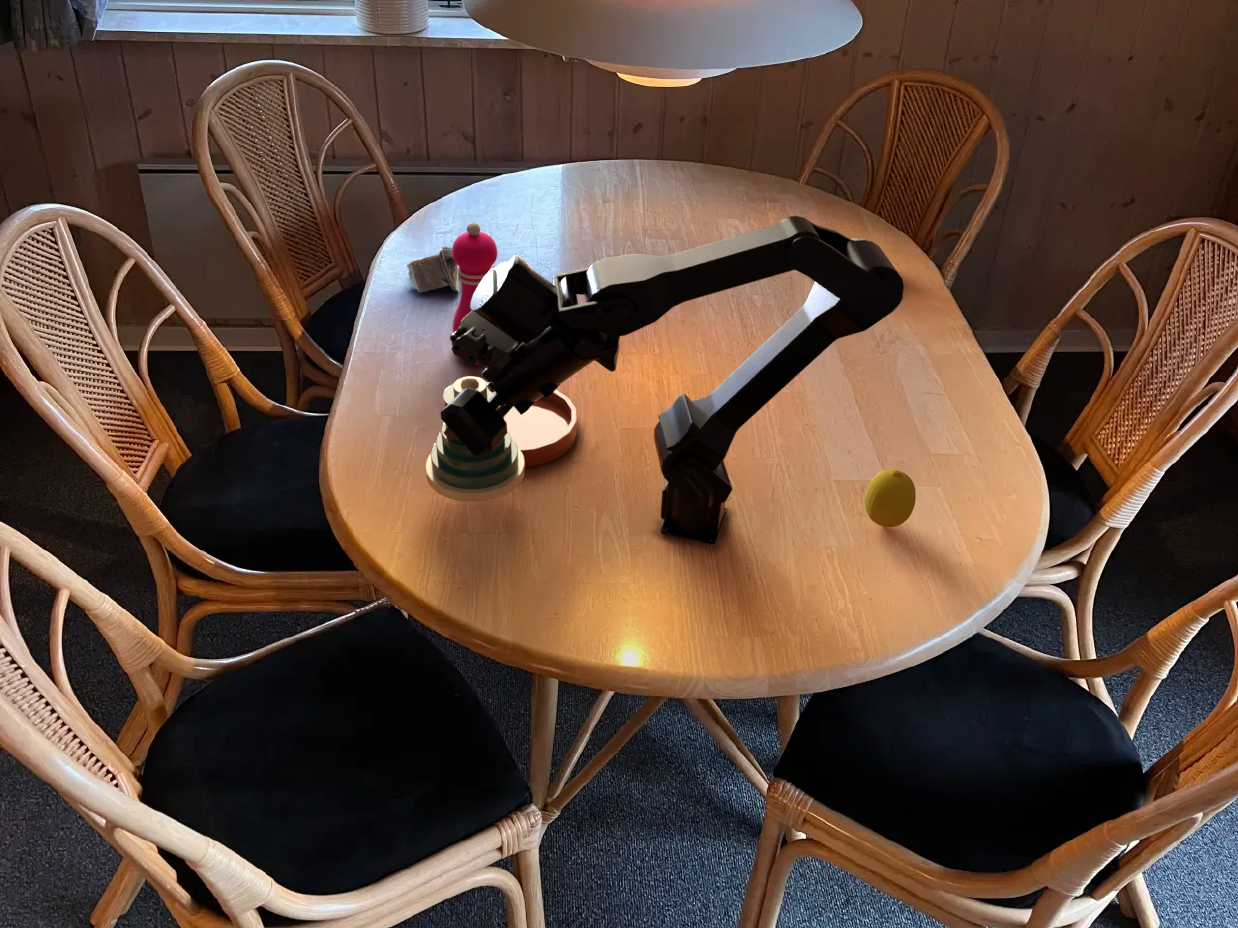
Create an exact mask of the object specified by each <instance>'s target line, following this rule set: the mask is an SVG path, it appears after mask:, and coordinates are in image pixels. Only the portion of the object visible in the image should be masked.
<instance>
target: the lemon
mask: <svg viewBox="0 0 1238 928" xmlns="http://www.w3.org/2000/svg"><path fill="white" fill-rule="evenodd" d="M916 497H917V495H916V486H915V483H914V481H913V479H912V478H911V477H910V476H909V475H908V474H907V473H905V472H904V471H902V470H899V469H894V468H893V469H892V468H891V469H885V470H881V471H880V472H878V473H877V474H875V475H874V477H873V478H872V479H871V481H870V482H869V484H868V486H867V488H866V492H865V496H864V506H865V507H864V508H865V511H866V513H867V516H868V517H869V519H870V520H872V522H873V523H875V524H876V525H878V526H880V527H882V528H896V527H898V526H901V525H903V524H904V523H905V522H906V521H908V520H909V519H910V517H911V516H912V513H913V511H914V509H915V506H916V500H917V499H916Z"/></svg>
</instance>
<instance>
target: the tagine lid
mask: <svg viewBox="0 0 1238 928" xmlns="http://www.w3.org/2000/svg"><path fill="white" fill-rule="evenodd" d="M488 384H489V382H488V381H486V379H484V378H482V377H479V376H474V375H473V376H472V375H468V376H463V377H460V378H458V379H456V380H455V381H454V382H453V383H452V384H450V385H448V386H447V387H446V388H445V389H444V390H443V393H442V403H443V405H442V406H443V409H444V408H445V407H446V406H447V405H448V404H449V403H450V402H451V401H452V400H453V399H454V398H455V397H456V396H457V395H458V394H459V393H460V392H461V391H462V390H465V389H466V388H470V389H474V390H478V391H479V392H480V393H481V394H482V395H483V396H484V397H485V399H486V400H487V401H488V400H489V399H490V398H491V397H492V396H493V395H494V394H495V393H496V392H493V393H492V392H491V391H490V390H489V389H488V388H487V385H488ZM498 408H499V407H498ZM498 408H497V409H498ZM497 409H496V411H497ZM447 427H448V426H447V425H446V424H445V423H444V422H443V423H442V426H441V429H440V431H439V433H438V435H437V436H436V440H435V443H434V444H433V446H432V447H431V450H430V453H429V455H428V456H427V459H426V461H425V475H426V476H425V477H426V480H427V483H428V485H429V486H430V487H431V489H433V490H434V491H435V492H436V493H437V494H439V495H441V496H442V497H444V498H447V499H450V500H454V501H458V502H466V503H467V502H468V503H478V502H487V501H490V500H494V499H497V498H501V497H503V496H506V495H507V494H509V493H512V491H514V490H515V489H516V488H518V486H519V485H520V484H521V482H522V481H523V479H524V477H525V473H526V467H525V461H524V456H523V454H522V452H521V451H520V450H519V448H518V447H517V444H516V443H515V441H514V440H513V439H512V438H511V435H510V433H509V431H508V430H507V434H506V435H505V436H504V438H503V439H502V440H501V441H500V442H499V443H498V444H497V446H496V447H495V448H494V449H493V450H492V451H491V452H489V453H488V454H486V455H485V456H483V457H482V458H479V457H475V456H474V455H473V454H472V453H471V452H470V451H469V449H468V448H467V447H466V446H465V445H464V444H463V443H462V442H461V441H460V440H449V439H448V438H447V437H446V435H445V434H444V431H445V430H446V429H447Z"/></svg>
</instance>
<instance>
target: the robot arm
mask: <svg viewBox="0 0 1238 928" xmlns="http://www.w3.org/2000/svg"><path fill="white" fill-rule="evenodd" d="M848 237H849V236H846V235H844V234H843V233H840V232H839V231H837V230H834V229H832V228H828V227H824V226H821V225H817V224H815V223H813V222H812V221H810V220H809V219H807V218H806V217H804V216H799V215H790V216H787V217H784V218H783V219H782V220H781V221H780V222H778V223H773V224H771V225H768V226H763V227H761V228H757V229H754V230H750V231H747V232H744V233H740V234H737V235H733V236H731V237H727V238H723V239H719V240H716V241H713V242H710V243H706V244H703V245H699V246H695V247H691V248H688V249H685V250H682V251H678V252H675V253H672V254H664V255H652V254H644V253H630V254H623V255H616V256H608V257H603V258H601V259H599V260H596V261H595V262H593V263H592V264H591V265H589V267H584V268H580V269H575V270H571V271H566V272H562V273H558V274H556V273H555V274H554V275H552V276H551V281H552V282H551V281H550V280H548V279H547V278H545V277H544V275H543V276H542V274H540V273H539V272H537V271H536V270H535V269H534V268H532V266H530V264H529V263H528V262H527V261H526V260H525V259H524V258H522V256H520V255H518V254H514V255H513V256H512V257H511V258H510V260H509V261H503V262H500V263H499V264H498V265H497V266H495V267H494V269H493V268H492V269H490V271H489V272H488V273H487V274H486V275H485V276H484V278H483V279H482V280H481V282H480V283H479V285H478V287H477V288H476V290H475V292H474V294H473V296H472V299H471V303H470V308H471V310H472V311H471V312H470V313H469V314H468V315H467V316H465V317H464V318H463V319H462V320H461V323H460V325H459V327H458V329H457V331H455V332H454V333H453V332H452V334H451V335H450V336H449V340H450V342H451V351H452V353H453V355H455V357H457V358H459V360H461V359H462V360H463V361H465V362H466V363H465V362H464V363H465V364H467V365H468V366H476V365H475V364H476V363H479V364H480V365H479V366H482V367H486V368H485V369H484V370H483V371H482V372H481V373H480V374H481V376H482V377H483V379H484V380H485V381H486V382H488V383H489V384H488V385H487V388H488V389H489V390H490V391H491V392H492V393H493V392H496V393H495V394H494V395H493V396H492V397H491V398H490V399H489V400H488V401H487V400H486V399H485V397H484V396H483V395H482V394H481V393H480V392H479V391H478V390H474V389H470V388H466V389H465V390H462V391H461V392H460V393H459V394H458V395H457V396H456V397H455V398H454V399H453V400H452V401H451V402H450V403H449V404H448V405H447V406H446V407H445V408H444V407H443V409H442V410H441V411H440V412H439V413H440V419H441V420H442V422H443V424H444V423H445V424H446V425H447V426H448V427H447V429H446V430H445V431H444V434H445V435H446V437H447V438H448V439H449V440H460V441H461V442H462V443H463V444H464V445H465V446H466V447H467V448H468V449H469V451H470V452H471V453H472V454H473V455H474V456H475V457H479V458H482V457H483V456H485V455H486V454H488V453H489V452H491V451H492V450H493V449H494V448H495V447H496V446H497V444H498V443H499V442H500V441H501V440H502V439H503V438H504V436H505V435H506V434H507V423H506V421H505V420H504V416H505V415H506V414H507V413H508V412H509V411H510V410H511V408H512V407H513V406H514V407H515V409H516V410H517V411H518V412H519V413H520V414H521V415H522V414H523V413H525V412H526V411H528V409H529V408H530V407H531V406H532V405H533V404H534V403H535V401H536V400H538V399H539V398H541V397H542V396H544V397H545V398H547V397H548V396H550V395H551V394H552V393H553V392H554V391H555V390H557V389H558V388H559V387H560V385H561V384H562V383H564V382H565V381H567V380H568V379H570V378H571V377H573V376H574V375H575V374H577V373H578V372H581V370H582V369H585V368H586V367H587V366H589V365H590V364H591V363H593V362H596V363H598V364H599V365H600V366H602V367H603V368H605V369H606V370H607V371H609V372H611V373H612V372H615V371H616V370H617V363H618V359H619V358H618V357H619V353H620V348H621V347H620V339H621V337H625V336H628V335H631V334H633V333H635V332H637V331H639V330H641V329H644V328H646V327H648V326H649V325H652V324H654V323H656V322H657V321H659V320H660V319H661V318H663V316H665V315H666V314H667V313H668V312H670V311H671V310H672V309H673V308H675V307H677V306H679V305H681V304H683V303H686V302H690V301H692V300H697V299H700V298H704V297H706V296H710V295H713V294H716V293H720V292H723V291H727V290H731V289H735V288H738V287H741V286H745V285H748V284H751V283H754V282H758V281H762V280H765V279H769V278H772V277H775V276H779V275H783V274H785V273H790V272H793V271H796V272H799V273H800V274H802V275H803V276H806V277H808V278H809V279H811V280H812V281H813V285H812V288H811V290H810V292H809V294H808V296H807V298H806V301H805V302H804V303H803V305H802V306H801V307H800V308H799V309H798V310H797V311H796V312H795V313H794V314H793V315H792V316H790V318H788V320H786V321H785V322H784V323H783V324H782V325H781V326H780V327H779V328H778V329H777V330H776V331H775V332H774V333H773V334H771V335H770V336H769V338H767V340H765V341H764V342H763V343H762V344H760V346H759V347H758V348H757V349H756V350H755V351H754V352H752V354H751V355H750V356H749V357H747V358H746V359H745V360H744V361H743V362H742V363H740V365H739V366H738V367H737V368H736V369H735V370H734V371H733V372H732V373H731V374H729V375H728V377H726V378H725V379H724V380H723V381H722V382H721V383H720V384H719V385H718V386H717V387H716V388H715V389H714V390H713V391H711V393H709V394H708V395H706V396H703V397H700V398H696V399H693V400H691V398H689V397H688V395H687V394H685V393H682V394H680V395H679V396H678V397H677V398H676V399H675V401H674V402H673V403H672V405H671V406H670V407H669V408H667V409H666V410H664V411H662V412H661V413H658V415H657V417H658V422H657V423H656V424H655V427H654V430H653V441H654V445H655V450H656V454H657V459H658V462H659V463H658V464H659V467H660V471H661V474H662V476H663V478H664V479H665V480H666V482H665V484H664V487H663V489H662V492H661V503H660V505H661V506H660V518H661V520H663V521H662V524H661V526H660V534H663V535H666V536H667V535H668V536H670V537H671V536H672V537H675V538H680V539H685V540H687V541H694V542H697V543H702V544H707V545H711V546H714V545H716V543H717V541H718V539H719V536H720V534H721V532H722V531H721V530H722V528H723V525H724V522H725V519H726V517H727V515H728V509H727V507H726V502H727V500H728V498H729V497H730V495H731V493H732V491H733V486H732V483H731V480H730V477H729V473H728V470H727V468H726V467H727V466H726V464H725V459H726V456H727V455H728V452H729V450H730V448H731V446H732V443H733V442H734V438H735V436H736V435H737V433H738V431H739V430H740V429H741V427H743V426H744V425H745V424H746V423H747V422H748V421H749V420H751V419H752V417H753V416H755V415H756V414H757V413H758V412H759V411H760V410H761V409H762V408H763V407H764V406H766V405H767V404H768V403H769V402H770V401H771V400H772V399H774V398H775V397H776V396H777V395H778V394H779V393H780V392H781V391H782V390H783V389H785V387H786V386H788V385H789V383H791V382H792V381H793V380H794V379H795V378H797V376H799V374H801V372H803V371H804V370H805V369H806V368H807V367H808V366H809V365H810V364H811V363H812V362H814V361H815V360H816V359H817V358H818V357H820V355H821V354H823V352H825V350H827V349H828V348H829V347H830V346H832V344H833V343H835V342H836V341H837V340H839V339H842V338H845V337H848V336H852V335H855V334H856V335H857V334H859V333H863V332H866V331H867V330H868V329H871V328H872V327H873V326H875V325H876V324H878V323H879V322H880V321H882V320H884V319H885V318H886V317H888V316H890V315H891V314H892V313H893V312H894V311H895V310H896V309H897V308H898V307H899V306H900V305H901V303H902V301H903V299H904V288H905V284H904V280H903V277H902V276H901V274H900V273H899V272H898V271H897V269H896V268H895V266H894V265H893V263H892V262H891V261H890V259H889V258H888V256H887V255H886V254H885V252H884V251H883V249H882V248H881V246H880V245H878V244H877V243H875V241H871V240H868V239H866V240H859V241H854V240H851V239H850V238H851V237H849V238H848ZM867 240H868V241H867ZM578 295H582V296H584V301H585V303H580V304H579V300H578ZM462 360H461V361H462ZM463 361H462V362H463ZM499 406H500V407H499ZM498 407H499V408H498ZM497 408H498V409H497ZM496 409H497V411H496Z"/></svg>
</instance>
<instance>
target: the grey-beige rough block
mask: <svg viewBox="0 0 1238 928" xmlns="http://www.w3.org/2000/svg"><path fill="white" fill-rule="evenodd" d="M457 267H458V265H457V264H456V263H455V261H454V259H453V256H452V247H447V246H441V250H440V251H439V253H438V254H434V255H431V256H427V257H423V258H421V259H416V260H413V261H411V262H409V263H407V264H406V268H407V270H408V273H407V274H408V277H409V280H410V283H411V286H413V289H414V290H417V292H418V293H420V294H421V293H426V292H429V291H433V290H437V289H440V288H445V287H448V286H449V287H450V288H451V290H452V291H455V292H458V293H460V291H461V290H460V289H461V288H460V280H459V279H458V277H457V274H458V272H457Z"/></svg>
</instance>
